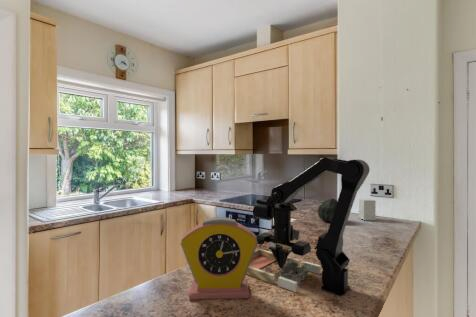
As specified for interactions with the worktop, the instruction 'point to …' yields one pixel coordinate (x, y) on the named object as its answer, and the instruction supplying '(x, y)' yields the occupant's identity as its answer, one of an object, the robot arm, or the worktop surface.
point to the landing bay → (294, 285)
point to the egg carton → (290, 270)
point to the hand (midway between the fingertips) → (281, 268)
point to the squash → (327, 209)
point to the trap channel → (262, 260)
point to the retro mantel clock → (219, 258)
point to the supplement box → (367, 209)
